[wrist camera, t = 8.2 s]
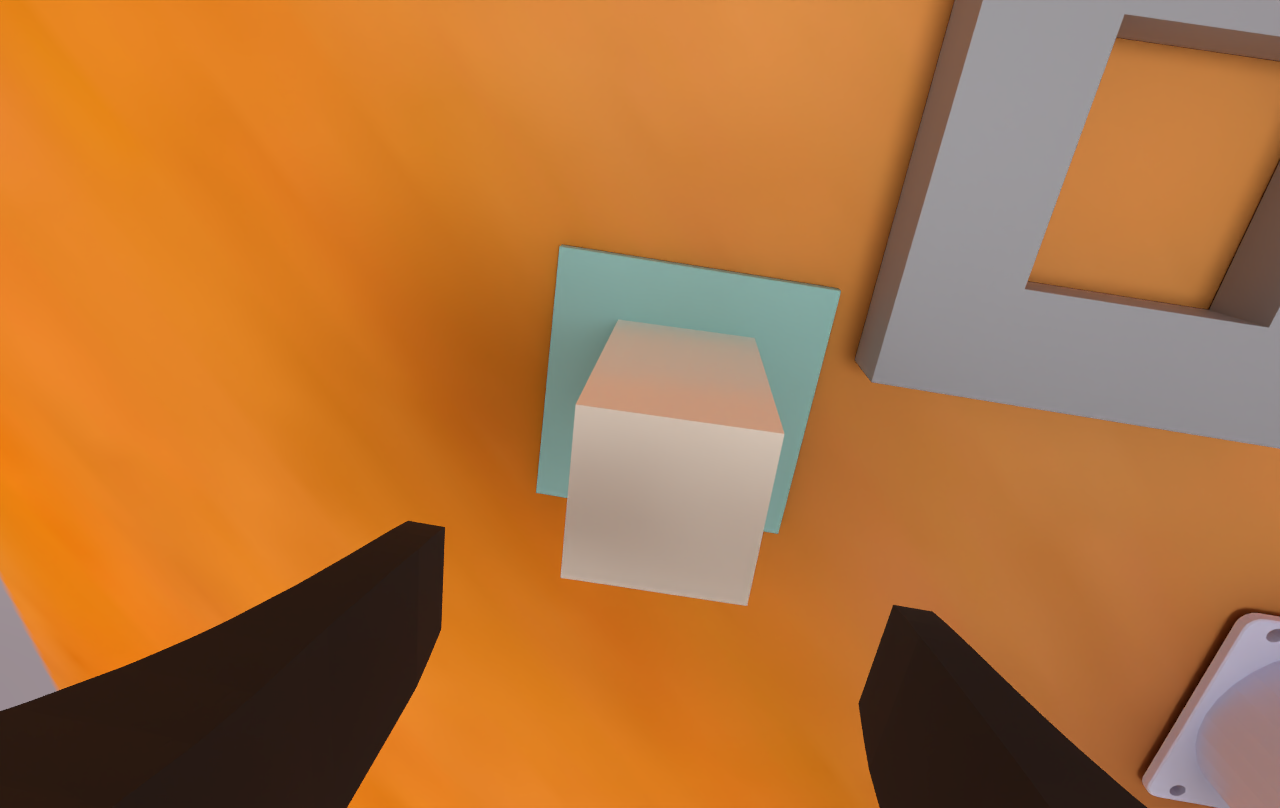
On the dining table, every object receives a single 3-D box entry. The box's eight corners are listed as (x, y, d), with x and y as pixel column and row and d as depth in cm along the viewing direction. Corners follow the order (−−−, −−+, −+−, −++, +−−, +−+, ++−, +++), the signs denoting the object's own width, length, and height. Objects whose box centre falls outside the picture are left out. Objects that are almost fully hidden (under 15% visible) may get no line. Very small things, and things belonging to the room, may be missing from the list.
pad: (838, 288, 18) (841, 291, 18) (776, 527, 21) (778, 533, 21) (562, 244, 19) (559, 246, 18) (538, 486, 22) (536, 492, 21)
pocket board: (1532, -63, 14) (1656, -95, 12) (1265, 426, 19) (1327, 456, 17) (992, -137, 15) (1035, -180, 13) (854, 360, 19) (871, 381, 17)
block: (754, 337, 19) (784, 434, 12) (731, 461, 20) (747, 605, 14) (618, 319, 19) (575, 404, 12) (605, 443, 20) (560, 577, 14)
